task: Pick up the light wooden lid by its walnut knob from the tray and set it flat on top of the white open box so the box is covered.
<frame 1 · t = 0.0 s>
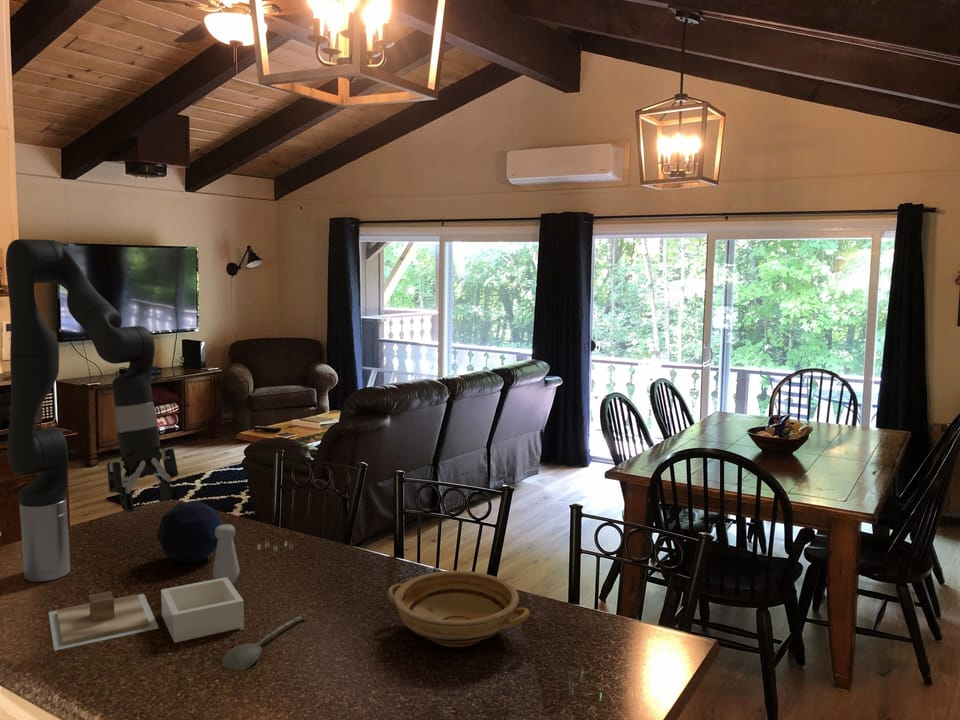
hand: (148, 506, 161), 22 cm above the kitchen counter, tool pointing down, fingers open, 8 cm apart
lid: (102, 619, 159), point 1 cm above the kitchen counter, touching tray
salt shaker: (226, 583, 179), on the kitchen counter
ceramic bowl: (456, 634, 157), on the kitchen counter
soupspoon: (268, 646, 152), on the kitchen counter
white open box: (202, 623, 159), on the kitchen counter
decorative orb: (191, 561, 191), on the kitchen counter
tray: (102, 622, 159), on the kitchen counter
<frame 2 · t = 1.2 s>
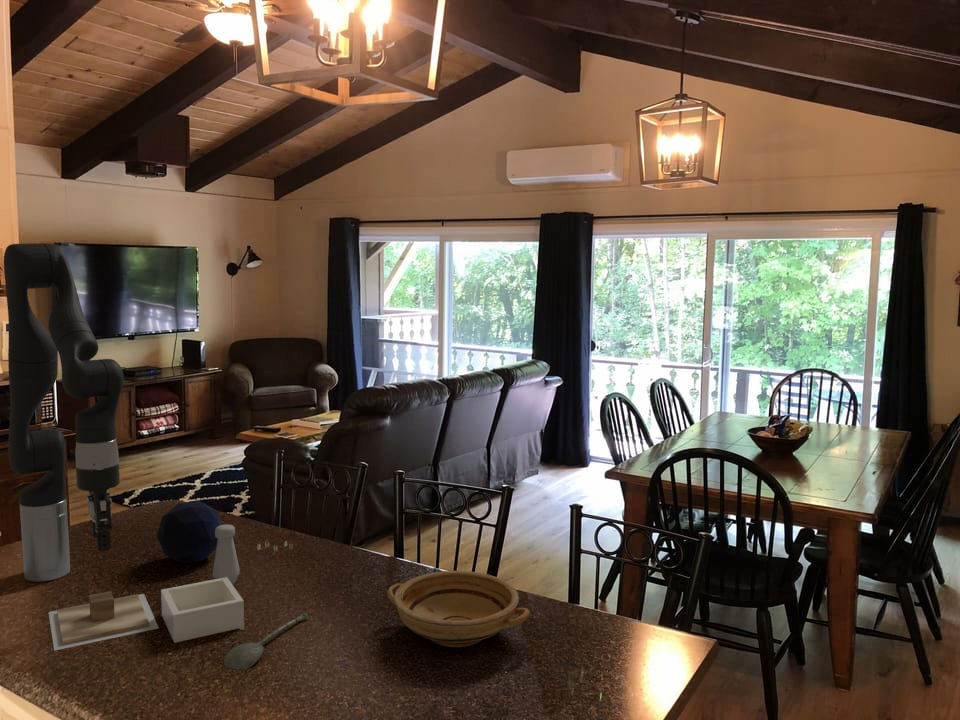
hand: (101, 543, 157), 16 cm above the kitchen counter, tool pointing down, fingers open, 8 cm apart
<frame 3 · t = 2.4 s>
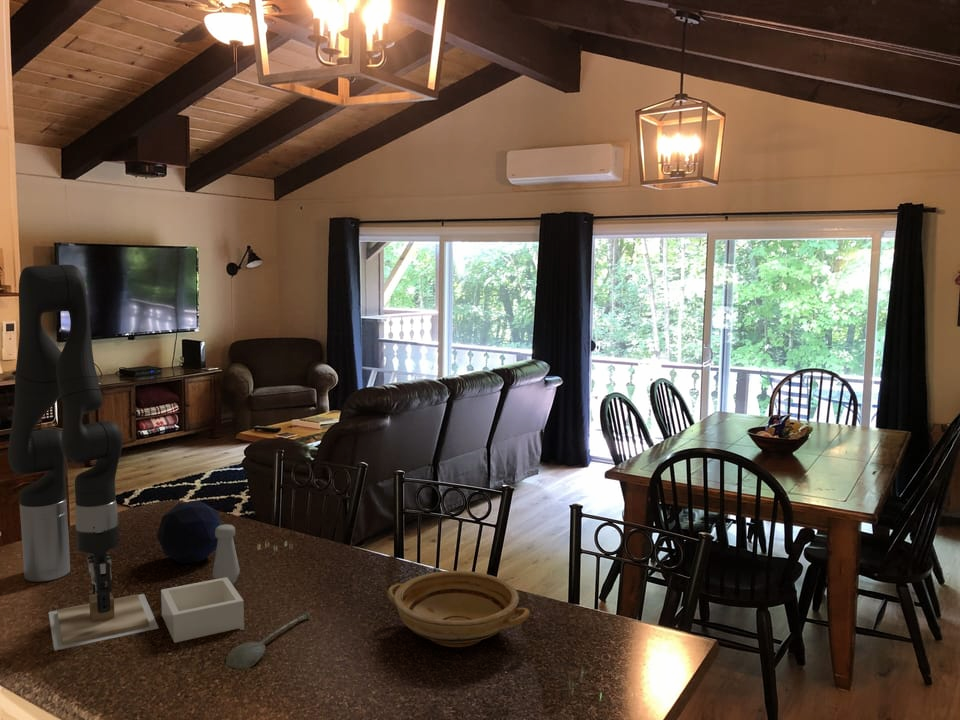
hand: (101, 603, 158), 4 cm above the kitchen counter, tool pointing down, fingers open, 8 cm apart
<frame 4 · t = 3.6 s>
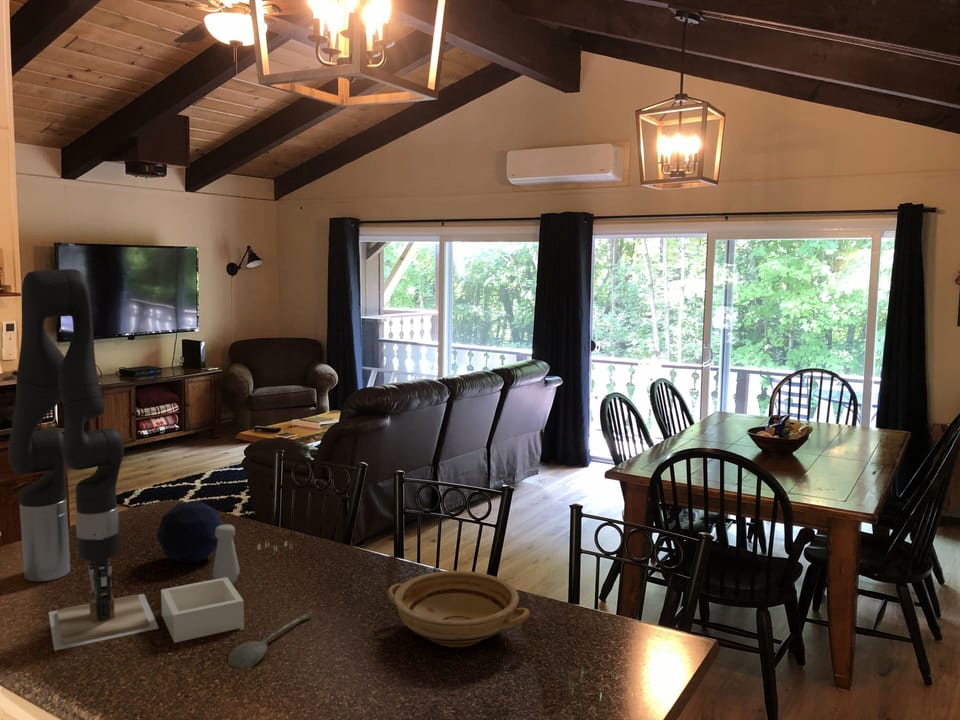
hand: (102, 614, 159), 2 cm above the kitchen counter, tool pointing down, fingers closed on lid, 4 cm apart
lid: (102, 619, 159), point 1 cm above the kitchen counter, touching gripper, tray
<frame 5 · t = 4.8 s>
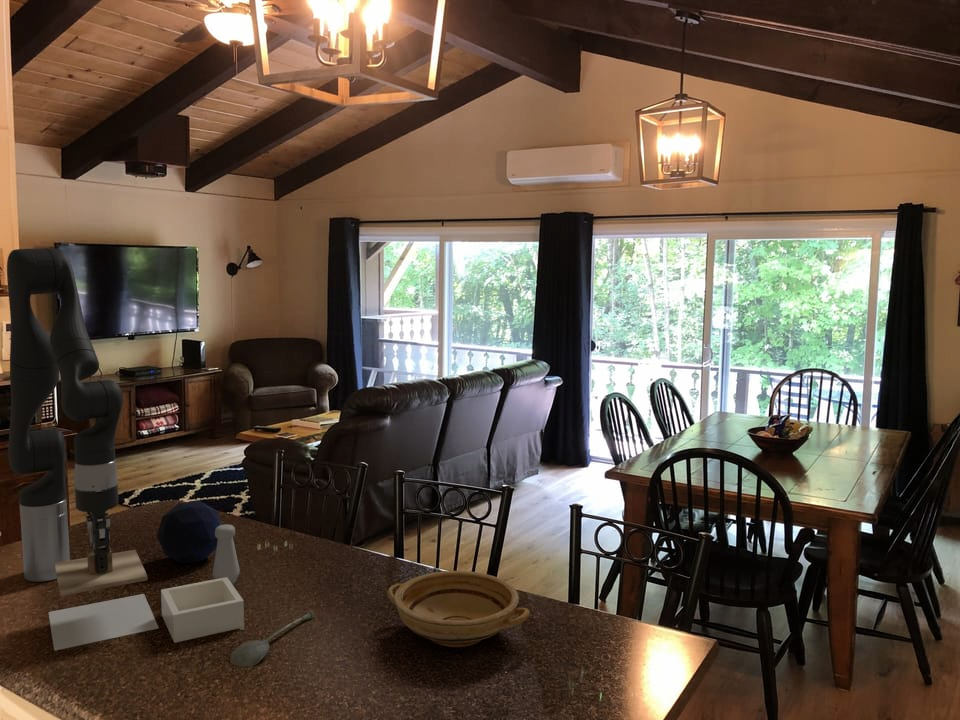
hand: (100, 567, 158), 11 cm above the kitchen counter, tool pointing down, fingers closed on lid, 4 cm apart
lid: (100, 573, 158), point 10 cm above the kitchen counter, touching gripper
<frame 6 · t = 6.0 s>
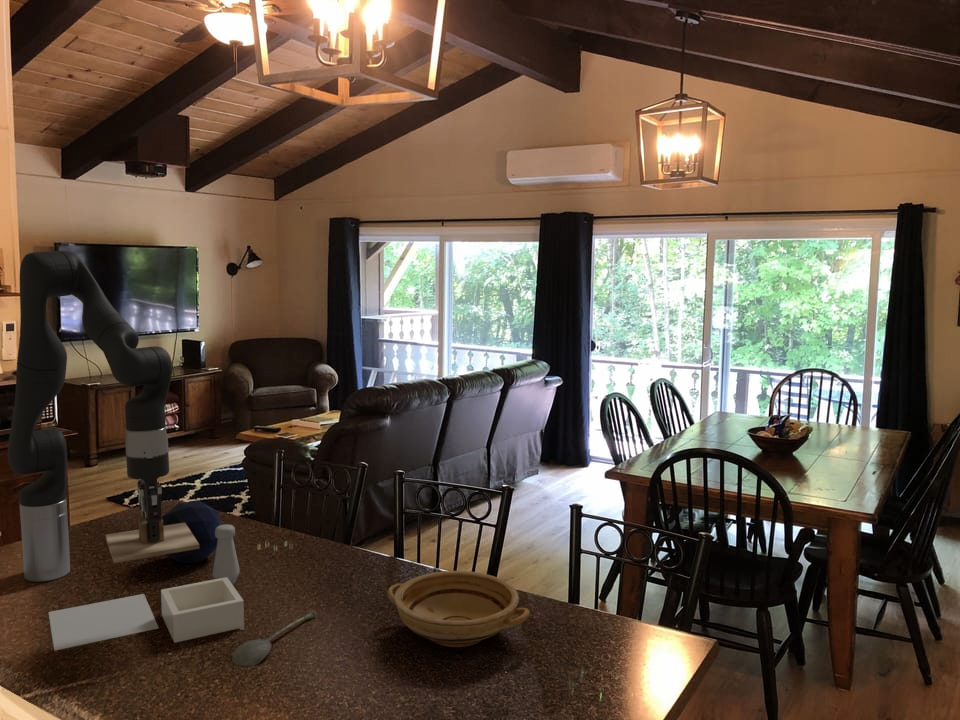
hand: (151, 537, 156), 18 cm above the kitchen counter, tool pointing down, fingers closed on lid, 4 cm apart
lid: (151, 543, 156), point 17 cm above the kitchen counter, touching gripper
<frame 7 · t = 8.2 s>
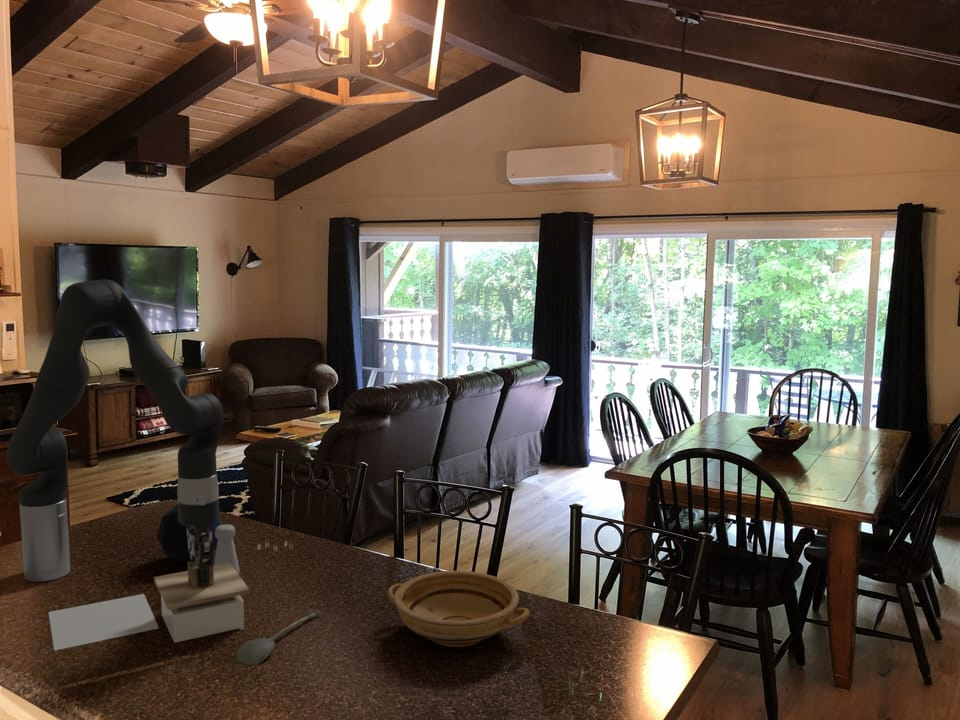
hand: (201, 580, 158), 9 cm above the kitchen counter, tool pointing down, fingers closed on lid, 4 cm apart
lid: (201, 587, 158), point 8 cm above the kitchen counter, touching gripper
when the fingers open (9 cm above the kitchen counter, at t = 9.0 s): lid drops 1 cm, resting on white open box.
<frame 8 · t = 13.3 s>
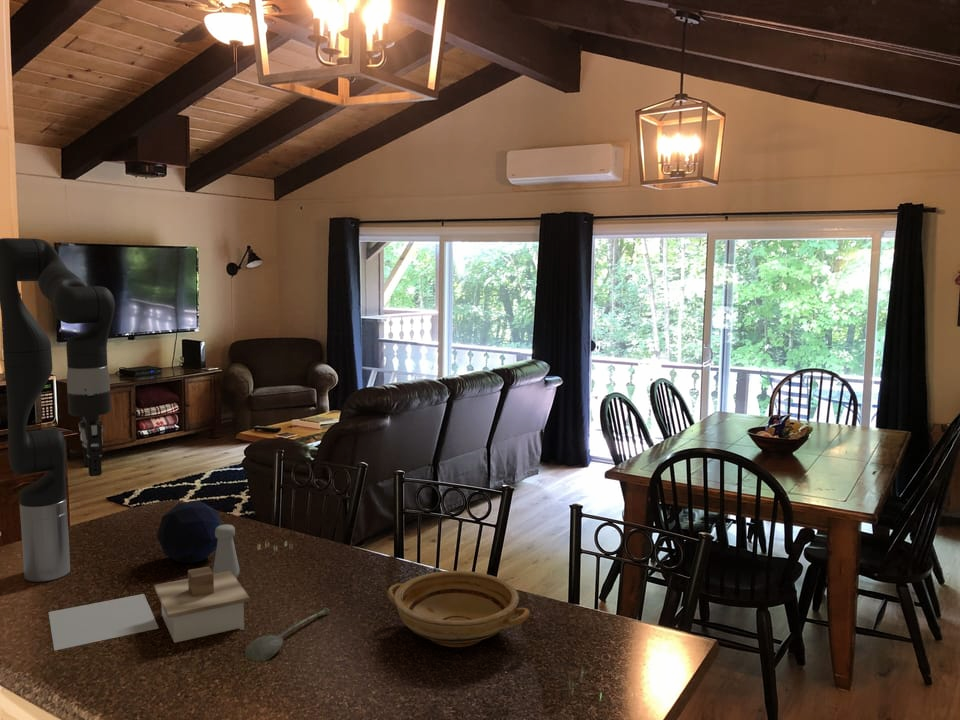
hand: (93, 470, 158), 30 cm above the kitchen counter, tool pointing down, fingers open, 8 cm apart
lid: (201, 594, 158), point 6 cm above the kitchen counter, touching white open box
soupspoon: (291, 638, 155), on the kitchen counter
everything else where it was.
at the end: lid 0.1 cm off-centre on the white open box, point 6.0 cm above the white open box's base; lid tilted 0°; the gripper is holding nothing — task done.
